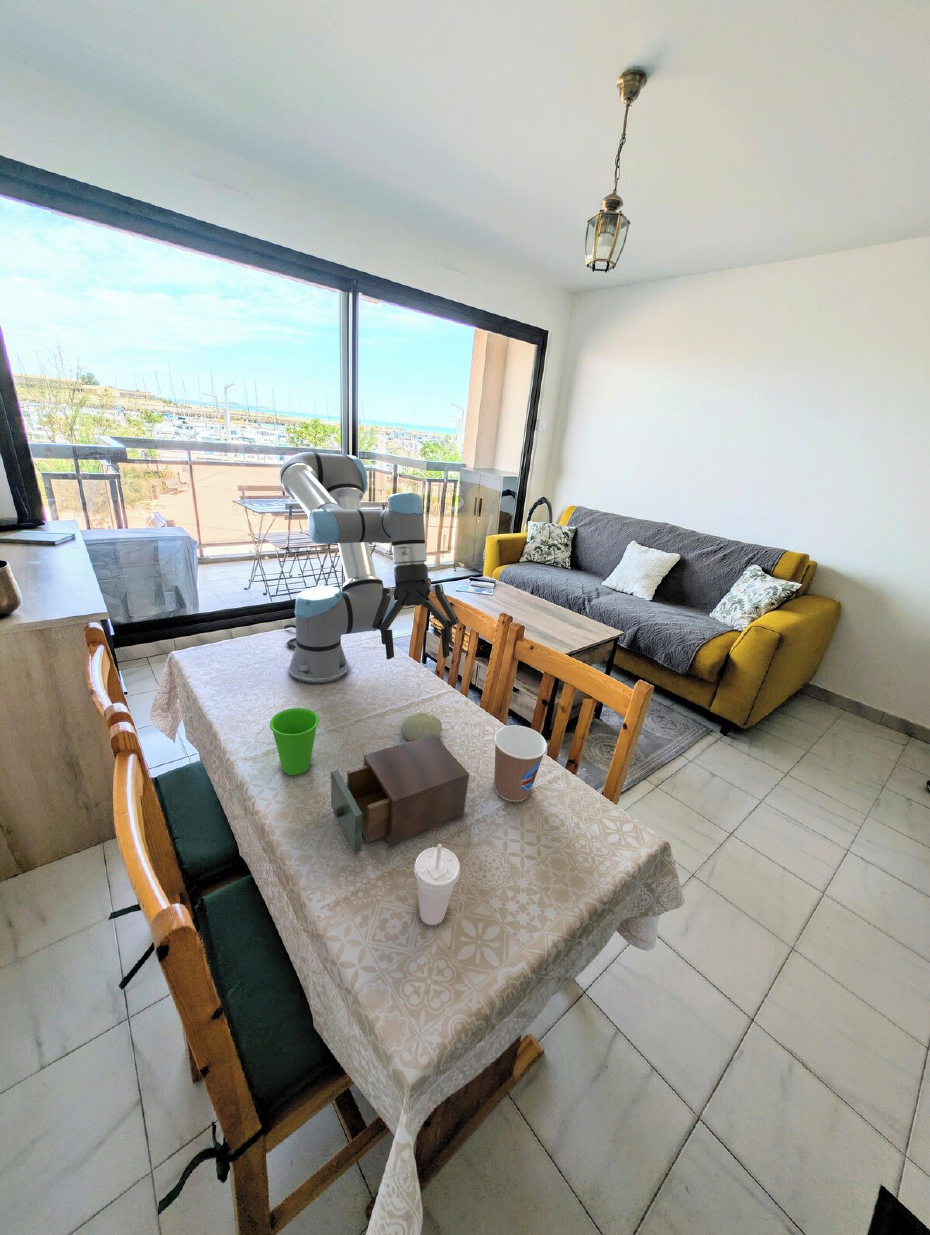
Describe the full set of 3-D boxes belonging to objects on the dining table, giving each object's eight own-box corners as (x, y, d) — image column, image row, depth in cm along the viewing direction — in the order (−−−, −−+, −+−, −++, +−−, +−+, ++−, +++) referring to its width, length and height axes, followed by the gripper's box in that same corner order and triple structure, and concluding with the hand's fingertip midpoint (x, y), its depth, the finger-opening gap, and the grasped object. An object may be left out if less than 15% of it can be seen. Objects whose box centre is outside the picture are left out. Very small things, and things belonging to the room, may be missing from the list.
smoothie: (405, 928, 67) (411, 856, 61) (416, 888, 73) (423, 819, 67) (449, 939, 66) (459, 866, 61) (457, 897, 72) (467, 828, 67)
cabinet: (390, 846, 79) (393, 801, 76) (362, 796, 89) (363, 754, 85) (463, 815, 87) (469, 773, 84) (430, 773, 97) (434, 734, 93)
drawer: (347, 856, 75) (347, 819, 73) (324, 808, 84) (324, 773, 81) (427, 823, 83) (431, 788, 81) (399, 782, 92) (401, 749, 89)
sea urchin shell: (440, 743, 103) (417, 717, 102) (414, 759, 106) (391, 733, 105) (449, 721, 112) (428, 696, 110) (425, 735, 115) (404, 711, 113)
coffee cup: (524, 816, 89) (534, 765, 84) (477, 792, 93) (484, 742, 89) (544, 786, 97) (555, 738, 93) (500, 765, 102) (508, 718, 97)
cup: (278, 788, 89) (276, 740, 85) (267, 759, 96) (264, 714, 92) (325, 773, 94) (325, 727, 90) (311, 747, 100) (311, 703, 96)
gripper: (352, 568, 105) (360, 661, 107) (459, 560, 98) (466, 659, 101) (367, 568, 112) (375, 655, 114) (468, 560, 106) (474, 652, 108)
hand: (418, 657), depth 107 cm, fingers open, 13 cm apart
